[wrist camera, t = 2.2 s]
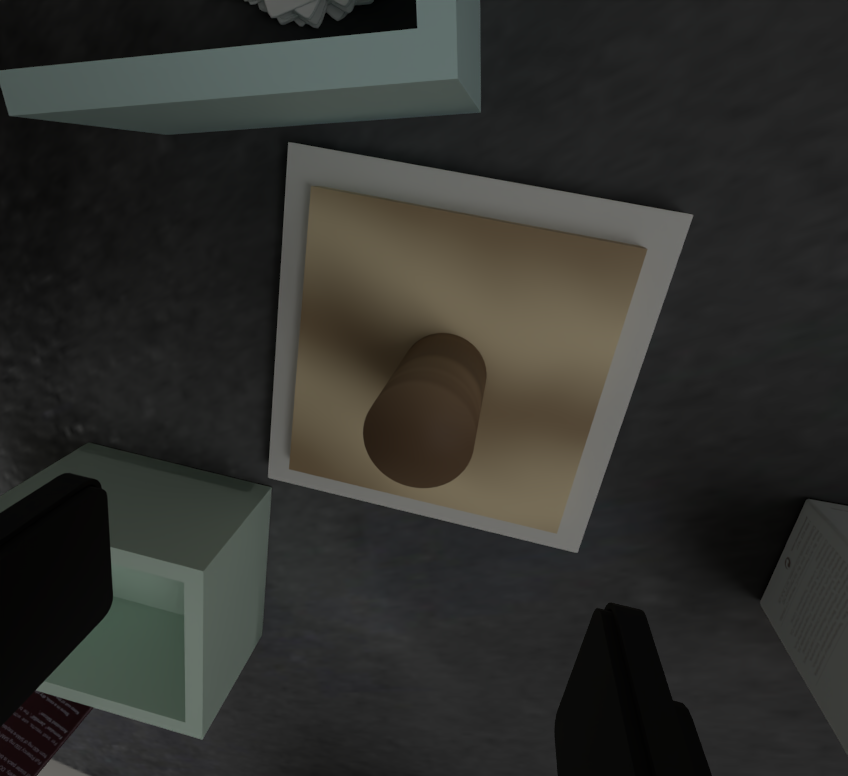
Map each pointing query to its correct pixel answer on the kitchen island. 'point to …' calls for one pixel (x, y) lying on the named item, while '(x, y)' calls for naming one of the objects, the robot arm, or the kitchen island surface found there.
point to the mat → (495, 201)
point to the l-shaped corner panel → (271, 77)
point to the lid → (453, 353)
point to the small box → (816, 606)
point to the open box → (167, 589)
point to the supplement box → (37, 733)
